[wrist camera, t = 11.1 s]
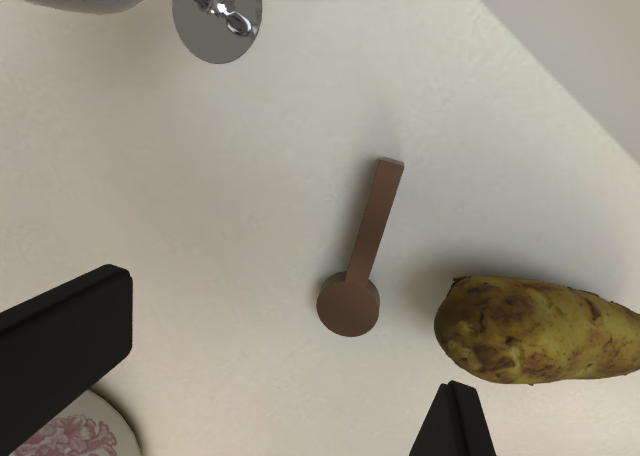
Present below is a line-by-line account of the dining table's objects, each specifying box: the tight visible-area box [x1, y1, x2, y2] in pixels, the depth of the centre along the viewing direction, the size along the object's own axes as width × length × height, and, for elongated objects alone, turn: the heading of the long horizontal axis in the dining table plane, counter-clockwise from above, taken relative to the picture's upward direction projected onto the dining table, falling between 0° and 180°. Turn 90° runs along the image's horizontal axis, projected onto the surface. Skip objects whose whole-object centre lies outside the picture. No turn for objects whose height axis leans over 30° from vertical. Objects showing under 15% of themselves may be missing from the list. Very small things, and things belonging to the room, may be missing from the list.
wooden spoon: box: [317, 157, 404, 337], centre depth 24 cm, size 14×5×3 cm, turn 167°
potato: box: [434, 276, 640, 386], centre depth 20 cm, size 8×13×8 cm, turn 62°
